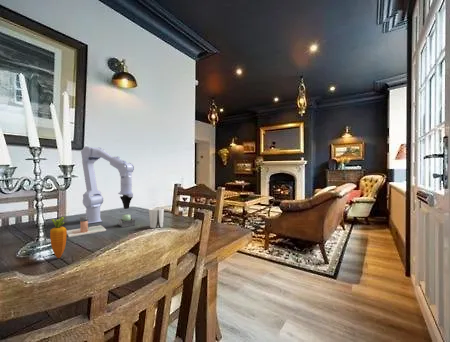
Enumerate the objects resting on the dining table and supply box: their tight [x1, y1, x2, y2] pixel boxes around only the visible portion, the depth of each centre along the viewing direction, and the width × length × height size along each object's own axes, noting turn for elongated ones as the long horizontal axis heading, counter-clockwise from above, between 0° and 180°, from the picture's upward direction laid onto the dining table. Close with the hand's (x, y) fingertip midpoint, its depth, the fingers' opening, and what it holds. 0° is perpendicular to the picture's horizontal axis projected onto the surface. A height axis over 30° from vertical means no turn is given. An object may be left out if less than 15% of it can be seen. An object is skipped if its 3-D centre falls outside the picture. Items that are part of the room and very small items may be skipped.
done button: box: [121, 213, 132, 221], centre depth 128 cm, size 4×4×4 cm
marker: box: [79, 216, 89, 233], centre depth 113 cm, size 3×3×7 cm
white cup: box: [148, 207, 165, 229], centre depth 125 cm, size 8×8×10 cm
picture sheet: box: [66, 224, 107, 238], centre depth 116 cm, size 11×16×1 cm
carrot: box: [49, 216, 68, 259], centre depth 83 cm, size 5×5×15 cm
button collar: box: [117, 217, 136, 228], centre depth 128 cm, size 7×7×3 cm
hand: (126, 208), depth 128 cm, fingers closed
